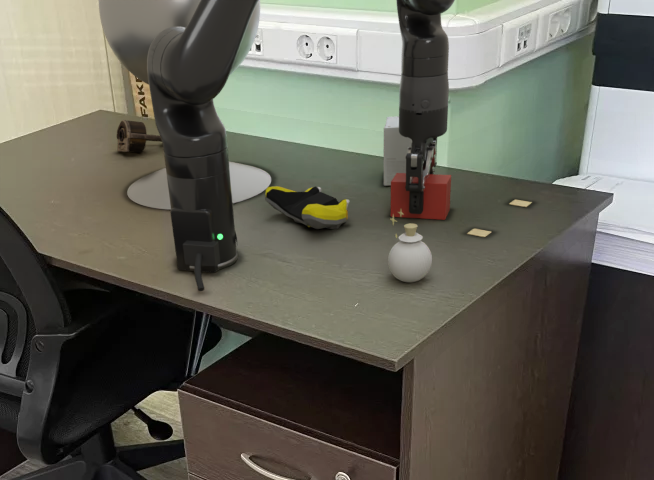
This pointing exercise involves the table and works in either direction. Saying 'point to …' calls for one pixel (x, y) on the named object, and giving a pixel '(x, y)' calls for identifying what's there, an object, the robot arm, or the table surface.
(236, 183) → the desk lamp
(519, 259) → the table surface
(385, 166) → the small box
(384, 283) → the table surface
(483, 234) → the edge tape marks
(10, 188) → the table surface
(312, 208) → the black yellow shoe-shaped piece
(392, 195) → the block
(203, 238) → the robot arm
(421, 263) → the white potion bottle
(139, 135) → the mechanical counter
